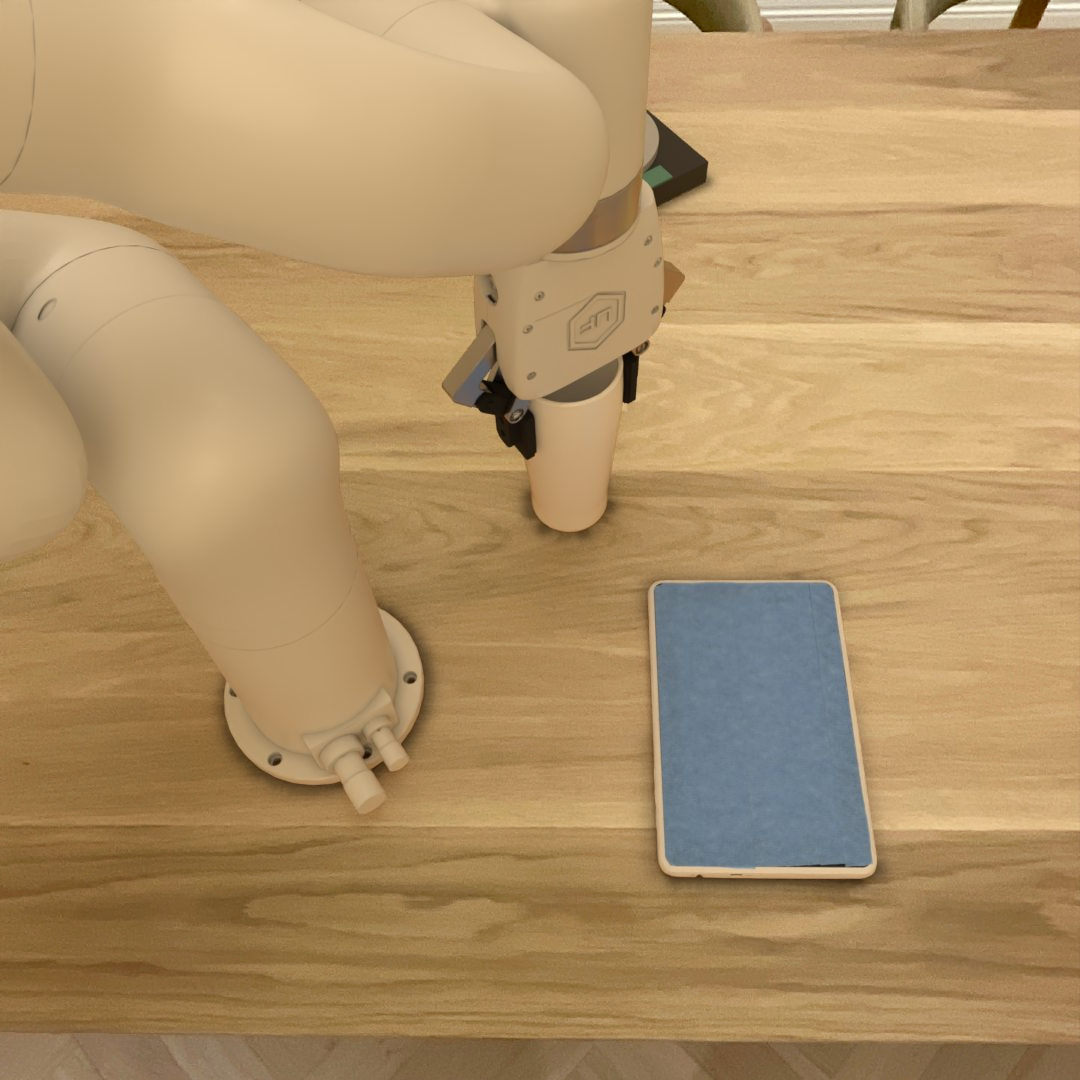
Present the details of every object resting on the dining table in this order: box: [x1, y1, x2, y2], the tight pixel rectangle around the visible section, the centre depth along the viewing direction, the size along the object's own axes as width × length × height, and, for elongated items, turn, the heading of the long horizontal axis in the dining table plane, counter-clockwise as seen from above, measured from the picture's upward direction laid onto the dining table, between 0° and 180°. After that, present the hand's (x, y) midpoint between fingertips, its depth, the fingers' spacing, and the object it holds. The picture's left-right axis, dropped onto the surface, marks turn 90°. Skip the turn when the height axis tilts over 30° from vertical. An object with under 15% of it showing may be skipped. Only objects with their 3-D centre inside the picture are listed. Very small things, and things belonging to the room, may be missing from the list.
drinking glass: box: [523, 356, 624, 533], centre depth 69 cm, size 7×7×15 cm
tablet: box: [647, 579, 878, 880], centre depth 66 cm, size 19×13×1 cm, turn 179°
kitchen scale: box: [642, 109, 709, 208], centre depth 93 cm, size 14×14×3 cm
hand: (568, 414), depth 67 cm, fingers closed on drinking glass, 6 cm apart
